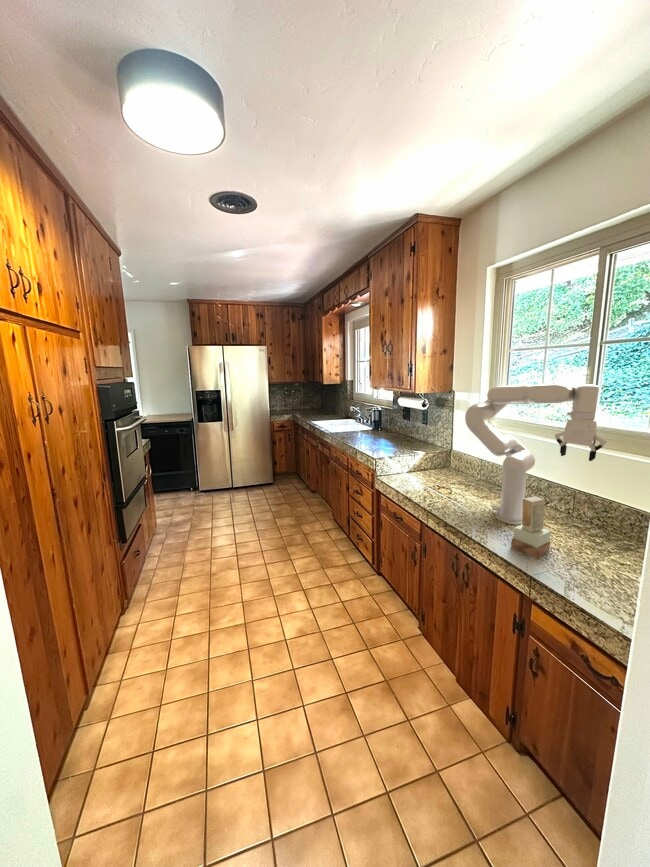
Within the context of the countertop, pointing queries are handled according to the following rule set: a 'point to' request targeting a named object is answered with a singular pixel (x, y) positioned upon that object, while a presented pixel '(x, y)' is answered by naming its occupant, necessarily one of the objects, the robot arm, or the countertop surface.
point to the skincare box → (533, 514)
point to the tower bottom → (530, 548)
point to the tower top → (532, 536)
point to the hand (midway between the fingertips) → (576, 457)
